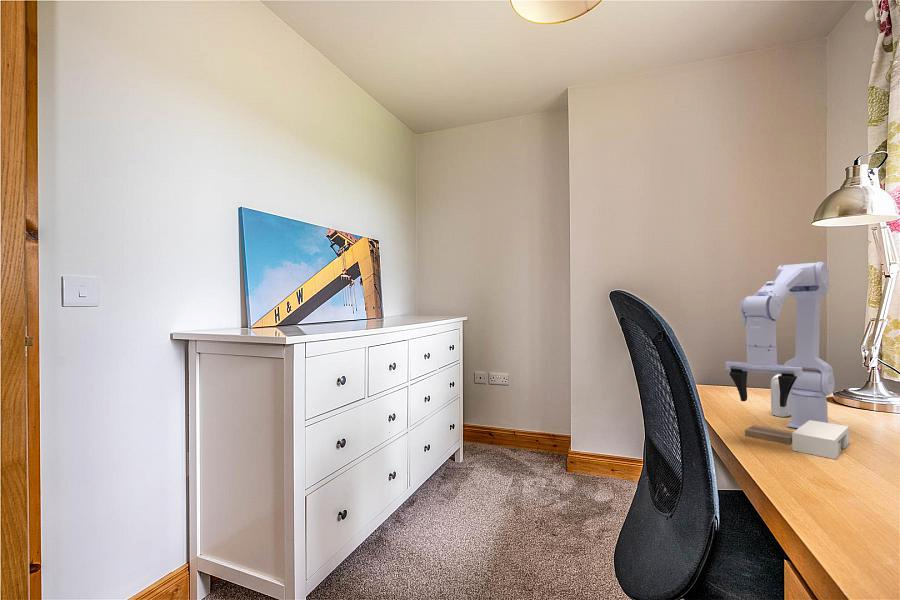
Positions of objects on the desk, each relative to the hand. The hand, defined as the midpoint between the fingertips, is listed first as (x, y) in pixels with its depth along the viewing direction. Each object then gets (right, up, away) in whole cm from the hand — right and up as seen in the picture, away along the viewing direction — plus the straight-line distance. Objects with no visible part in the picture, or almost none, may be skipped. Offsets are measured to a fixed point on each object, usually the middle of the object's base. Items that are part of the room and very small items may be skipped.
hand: (763, 403), depth 99 cm
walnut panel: (+6, -10, +6) cm, 13 cm away
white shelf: (+12, -10, -2) cm, 15 cm away
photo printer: (+27, -10, +27) cm, 39 cm away
